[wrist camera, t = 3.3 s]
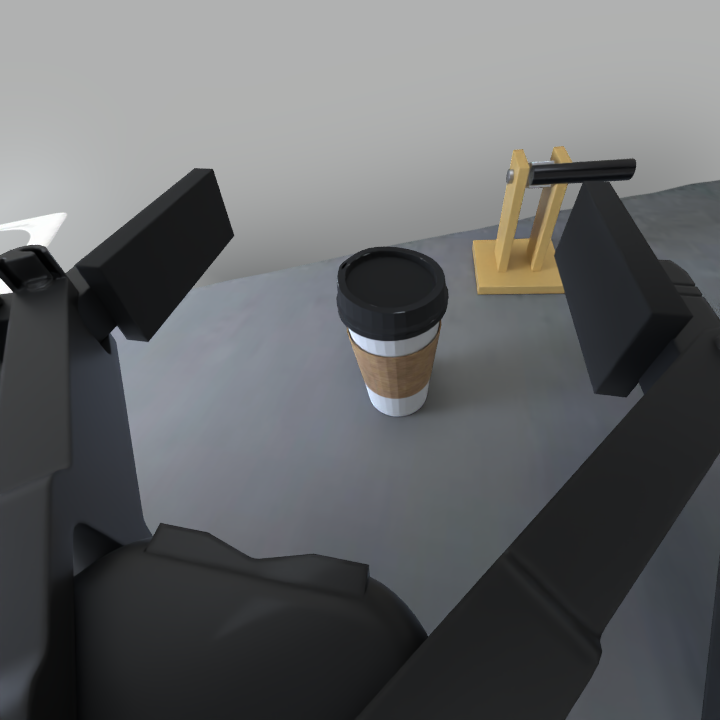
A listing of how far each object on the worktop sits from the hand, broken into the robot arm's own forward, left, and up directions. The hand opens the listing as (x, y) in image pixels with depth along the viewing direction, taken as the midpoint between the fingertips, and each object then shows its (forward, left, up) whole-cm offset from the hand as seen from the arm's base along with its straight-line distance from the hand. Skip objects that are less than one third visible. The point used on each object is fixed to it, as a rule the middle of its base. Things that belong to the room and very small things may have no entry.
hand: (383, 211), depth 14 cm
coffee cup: (+1, -9, -25) cm, 26 cm away
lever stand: (-13, -29, -24) cm, 40 cm away
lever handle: (-13, -23, -11) cm, 29 cm away
